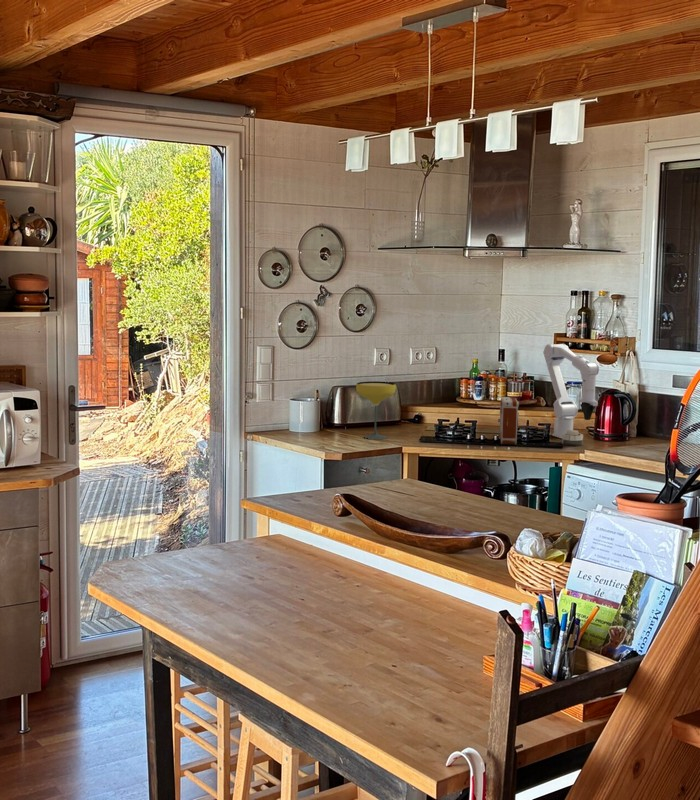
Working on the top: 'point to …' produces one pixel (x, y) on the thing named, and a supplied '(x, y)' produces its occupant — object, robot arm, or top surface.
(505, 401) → the cine camera
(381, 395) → the cocktail glass
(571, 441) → the lens barrel
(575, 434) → the lens cap
